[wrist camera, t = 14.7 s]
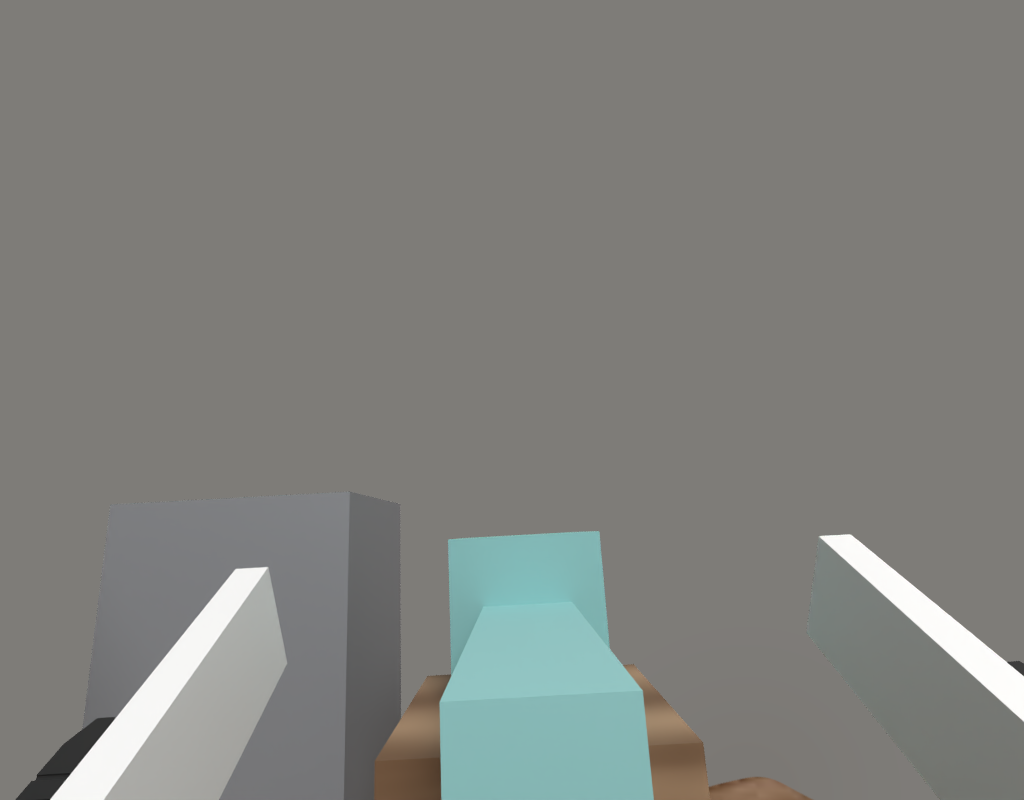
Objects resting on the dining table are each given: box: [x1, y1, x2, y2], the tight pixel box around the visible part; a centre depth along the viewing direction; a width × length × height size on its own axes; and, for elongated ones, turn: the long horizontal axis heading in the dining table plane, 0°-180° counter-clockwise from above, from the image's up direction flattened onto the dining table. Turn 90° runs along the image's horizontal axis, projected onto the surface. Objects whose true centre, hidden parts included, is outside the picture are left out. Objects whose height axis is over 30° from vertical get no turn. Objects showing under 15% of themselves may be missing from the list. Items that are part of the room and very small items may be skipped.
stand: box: [82, 492, 401, 800], centre depth 35 cm, size 14×14×30 cm
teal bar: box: [440, 531, 654, 800], centre depth 21 cm, size 21×7×7 cm, turn 0°
